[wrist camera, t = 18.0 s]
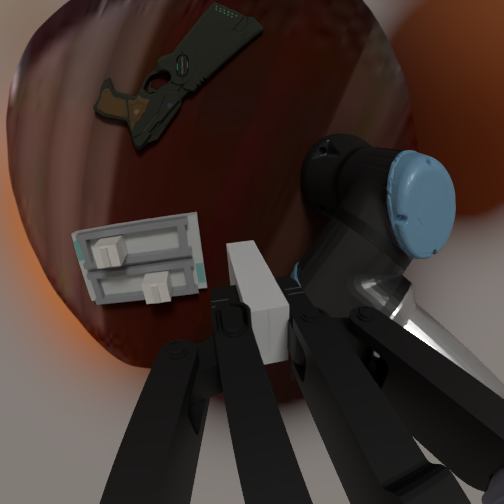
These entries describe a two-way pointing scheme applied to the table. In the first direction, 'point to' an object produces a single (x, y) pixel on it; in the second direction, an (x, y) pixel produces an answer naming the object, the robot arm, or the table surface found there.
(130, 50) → the table surface
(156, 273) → the tab
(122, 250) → the tab
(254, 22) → the firearm
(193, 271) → the switch plate
